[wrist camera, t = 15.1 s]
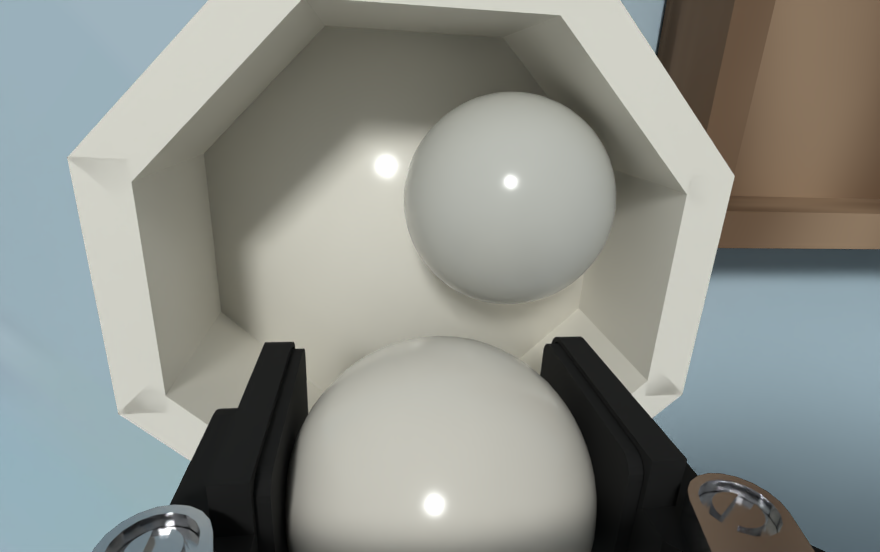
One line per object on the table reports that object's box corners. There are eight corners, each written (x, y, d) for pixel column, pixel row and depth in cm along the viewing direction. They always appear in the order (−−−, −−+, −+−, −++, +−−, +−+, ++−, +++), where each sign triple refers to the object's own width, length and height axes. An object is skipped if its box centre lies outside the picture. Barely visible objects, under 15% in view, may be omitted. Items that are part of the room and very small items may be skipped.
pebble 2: (552, 290, 10) (702, 459, 6) (526, 487, 12) (625, 741, 7) (297, 291, 10) (231, 483, 5) (309, 500, 11) (266, 788, 7)
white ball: (479, 74, 14) (664, 99, 12) (462, 239, 17) (616, 287, 14) (359, 84, 11) (596, 124, 8) (359, 296, 13) (545, 375, 10)
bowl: (648, 9, 14) (784, -30, 10) (582, 407, 19) (653, 514, 14) (148, -29, 12) (16, -98, 8) (207, 421, 17) (145, 548, 12)
